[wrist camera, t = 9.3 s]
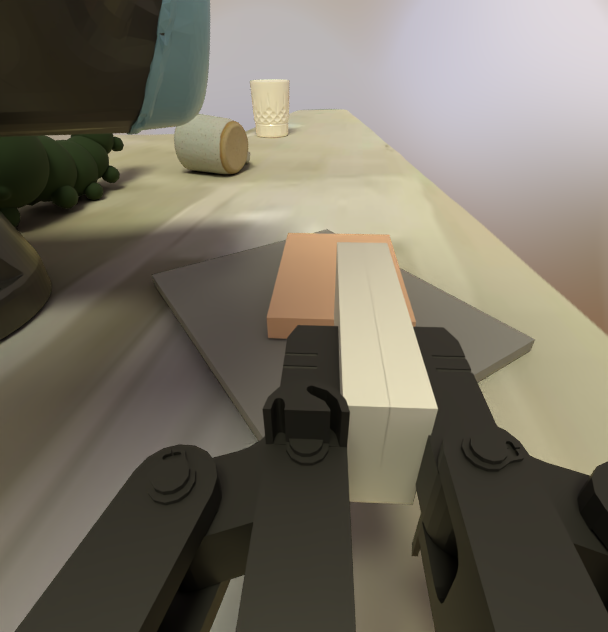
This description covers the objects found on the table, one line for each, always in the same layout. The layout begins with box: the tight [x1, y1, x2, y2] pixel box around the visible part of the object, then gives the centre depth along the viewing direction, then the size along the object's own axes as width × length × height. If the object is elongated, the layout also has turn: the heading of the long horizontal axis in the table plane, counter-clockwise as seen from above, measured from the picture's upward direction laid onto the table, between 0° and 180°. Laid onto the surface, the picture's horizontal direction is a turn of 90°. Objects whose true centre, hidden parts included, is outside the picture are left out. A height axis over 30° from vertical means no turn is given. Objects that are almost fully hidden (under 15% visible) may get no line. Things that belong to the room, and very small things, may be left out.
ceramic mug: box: [174, 114, 250, 174], centre depth 56 cm, size 11×8×8 cm
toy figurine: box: [0, 133, 124, 227], centre depth 39 cm, size 9×19×25 cm
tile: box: [267, 233, 416, 339], centre depth 26 cm, size 2×8×12 cm
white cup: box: [250, 80, 289, 138], centre depth 80 cm, size 8×8×10 cm
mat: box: [152, 229, 535, 441], centre depth 25 cm, size 20×16×1 cm
